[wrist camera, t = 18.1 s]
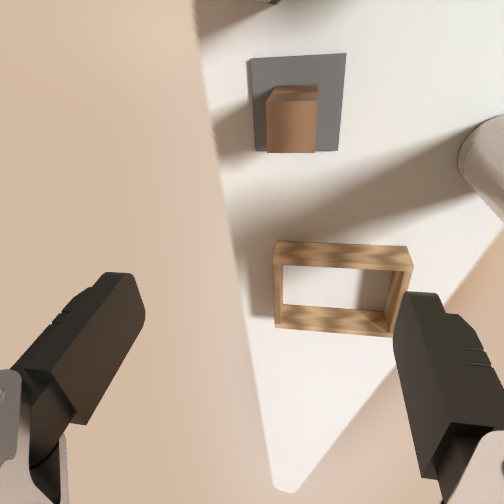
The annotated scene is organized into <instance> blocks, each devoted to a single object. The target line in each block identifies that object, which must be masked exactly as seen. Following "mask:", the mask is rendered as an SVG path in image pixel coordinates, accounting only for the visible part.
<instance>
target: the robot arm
mask: <svg viewBox="0 0 504 504" xmlns="http://www.w3.org/2000/svg"><path fill="white" fill-rule="evenodd" d="M458 168H459V171H460V174H461V175H462V176H463V178H464V179H465V180H466V181H467V182H468V184H469V185H470V186H471V187H472V188H473V189H474V190H475V192H476V193H477V194H478V195H479V196H480V197H481V198H482V199H483V200H484V202H485V203H486V204H487V205H488V206H489V207H490V208H491V209H492V210H493V211H494V213H495V214H496V215H497V216H498V217H499V218H500V219H501V220H502V221H503V223H504V115H500V116H497V117H494V118H492V119H490V120H488V121H486V122H484V123H483V124H481V125H480V126H478V127H477V128H476V129H475V130H473V132H472V133H471V134H470V135H469V136H468V137H467V138H466V140H465V141H464V143H463V144H462V147H461V149H460V151H459V155H458ZM144 321H145V308H144V305H143V302H142V299H141V296H140V293H139V290H138V287H137V284H136V281H135V278H134V277H133V275H132V274H130V273H115V272H106V273H104V274H103V275H102V276H101V277H100V278H99V279H98V280H97V282H96V283H95V284H94V285H93V286H92V287H89V288H87V289H85V290H84V291H82V292H81V293H79V294H78V295H77V296H75V297H74V298H73V299H72V300H71V301H70V302H69V303H68V304H67V305H66V306H65V308H64V309H63V310H62V313H61V314H60V313H59V314H58V316H57V317H56V318H55V319H54V320H53V321H52V324H51V325H49V326H48V327H47V328H46V329H45V330H44V331H43V333H42V334H41V335H40V336H39V337H38V338H37V339H36V340H35V341H34V343H33V344H32V345H31V346H30V347H29V348H28V349H27V351H26V352H25V353H24V354H23V355H22V356H21V357H20V359H19V360H18V361H17V362H16V363H15V364H14V365H13V366H12V367H11V368H10V369H9V370H8V369H6V370H0V504H69V492H68V471H67V453H66V438H65V435H64V433H63V432H64V431H65V429H66V428H67V426H68V424H69V423H74V424H80V425H87V423H88V421H89V419H90V418H91V416H92V414H93V412H94V411H95V409H96V407H97V405H98V404H99V402H100V400H101V399H102V397H103V395H104V393H105V391H106V390H107V388H108V386H109V385H110V383H111V381H112V379H113V378H114V376H115V374H116V372H117V371H118V369H119V367H120V365H121V364H122V362H123V360H124V359H125V357H126V355H127V353H128V352H129V350H130V348H131V346H132V344H133V343H134V341H135V339H136V338H137V336H138V334H139V332H140V331H141V329H142V327H143V324H144ZM483 349H484V348H483V346H482V344H481V342H480V340H479V338H478V336H477V334H476V332H475V330H474V329H473V328H472V327H471V326H470V325H469V324H468V323H467V322H466V321H465V320H464V319H463V318H462V317H461V316H459V315H458V314H448V313H445V310H444V307H443V305H442V303H441V300H440V298H439V296H438V295H437V294H436V293H426V292H410V291H405V292H404V294H403V297H402V300H401V304H400V308H399V312H398V315H397V319H396V323H395V327H394V331H393V350H394V355H395V360H396V365H397V369H398V374H399V378H400V383H401V387H402V391H403V396H404V401H405V405H406V409H407V414H408V419H409V424H410V428H411V433H412V437H413V442H414V446H415V451H416V455H417V459H418V464H419V469H420V473H421V477H422V478H428V479H434V480H438V482H439V486H440V490H441V494H442V499H441V501H440V503H439V504H504V389H503V386H502V384H501V382H500V380H499V378H498V377H497V374H496V372H495V370H494V368H492V367H491V362H490V360H489V358H488V356H487V354H486V352H484V351H483Z"/></svg>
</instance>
